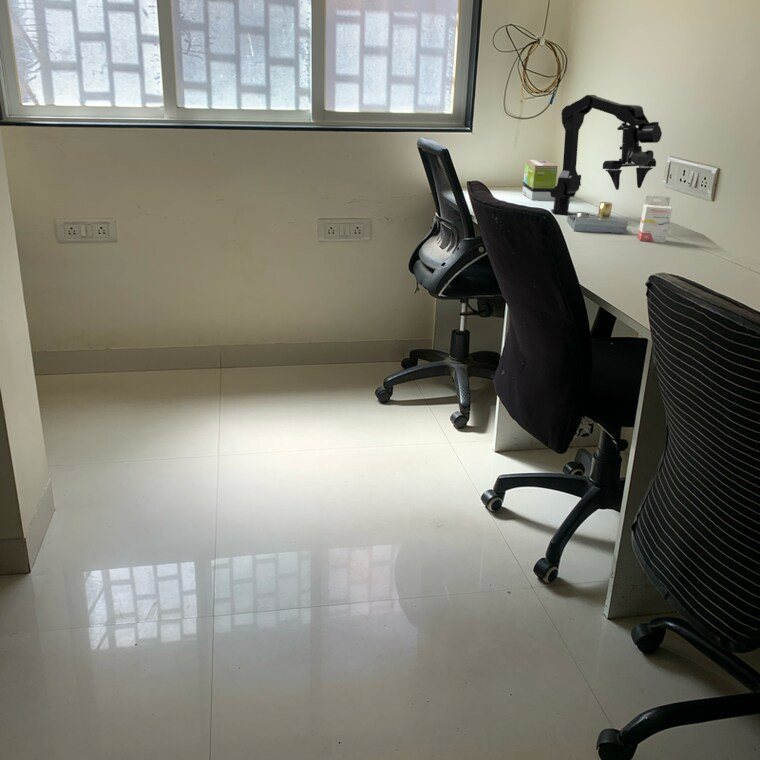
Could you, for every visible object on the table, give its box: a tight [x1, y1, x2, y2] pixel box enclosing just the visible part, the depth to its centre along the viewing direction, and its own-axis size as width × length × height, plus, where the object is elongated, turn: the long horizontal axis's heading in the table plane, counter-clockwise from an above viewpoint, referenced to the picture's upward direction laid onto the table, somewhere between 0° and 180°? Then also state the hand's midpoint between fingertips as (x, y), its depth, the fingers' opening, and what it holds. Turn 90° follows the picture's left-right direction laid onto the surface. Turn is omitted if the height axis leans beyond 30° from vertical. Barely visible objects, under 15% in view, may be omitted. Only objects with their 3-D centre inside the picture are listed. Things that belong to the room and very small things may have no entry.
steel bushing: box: [576, 211, 591, 218], centre depth 280 cm, size 4×4×5 cm
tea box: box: [521, 159, 558, 202], centre depth 330 cm, size 15×10×15 cm, turn 6°
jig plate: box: [566, 214, 628, 234], centre depth 280 cm, size 16×18×4 cm
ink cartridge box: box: [637, 194, 673, 243], centre depth 263 cm, size 9×5×15 cm, turn 84°
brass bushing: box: [597, 201, 613, 217], centre depth 290 cm, size 4×4×7 cm
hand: (628, 188), depth 278 cm, fingers open, 9 cm apart
